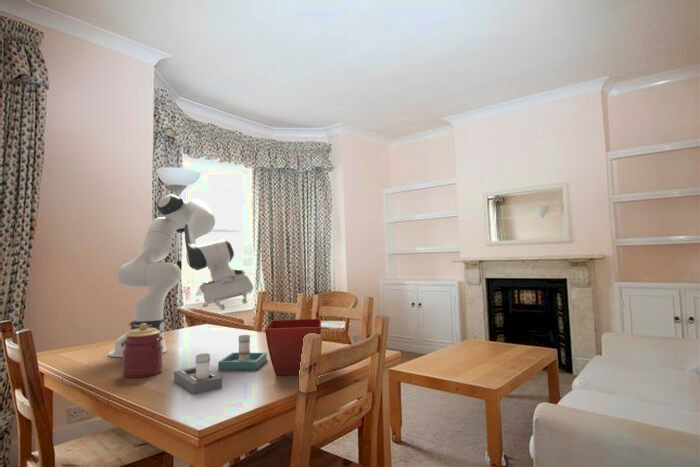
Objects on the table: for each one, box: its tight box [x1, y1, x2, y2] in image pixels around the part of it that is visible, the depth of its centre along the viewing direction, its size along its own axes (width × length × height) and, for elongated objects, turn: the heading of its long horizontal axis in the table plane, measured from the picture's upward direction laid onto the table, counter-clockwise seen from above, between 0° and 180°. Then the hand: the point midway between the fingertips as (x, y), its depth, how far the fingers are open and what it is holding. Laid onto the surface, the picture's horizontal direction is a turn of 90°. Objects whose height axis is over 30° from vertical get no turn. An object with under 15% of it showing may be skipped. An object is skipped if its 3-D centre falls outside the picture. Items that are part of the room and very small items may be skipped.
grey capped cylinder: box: [238, 334, 251, 361], centre depth 151 cm, size 4×4×10 cm
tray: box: [217, 352, 268, 372], centre depth 151 cm, size 14×14×3 cm
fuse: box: [195, 352, 211, 381], centre depth 126 cm, size 4×4×10 cm
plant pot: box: [264, 318, 322, 376], centre depth 144 cm, size 19×19×17 cm
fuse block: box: [173, 366, 223, 395], centre depth 129 cm, size 18×9×3 cm, turn 41°
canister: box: [121, 323, 164, 379], centre depth 142 cm, size 13×13×18 cm
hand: (234, 306), depth 165 cm, fingers open, 8 cm apart
